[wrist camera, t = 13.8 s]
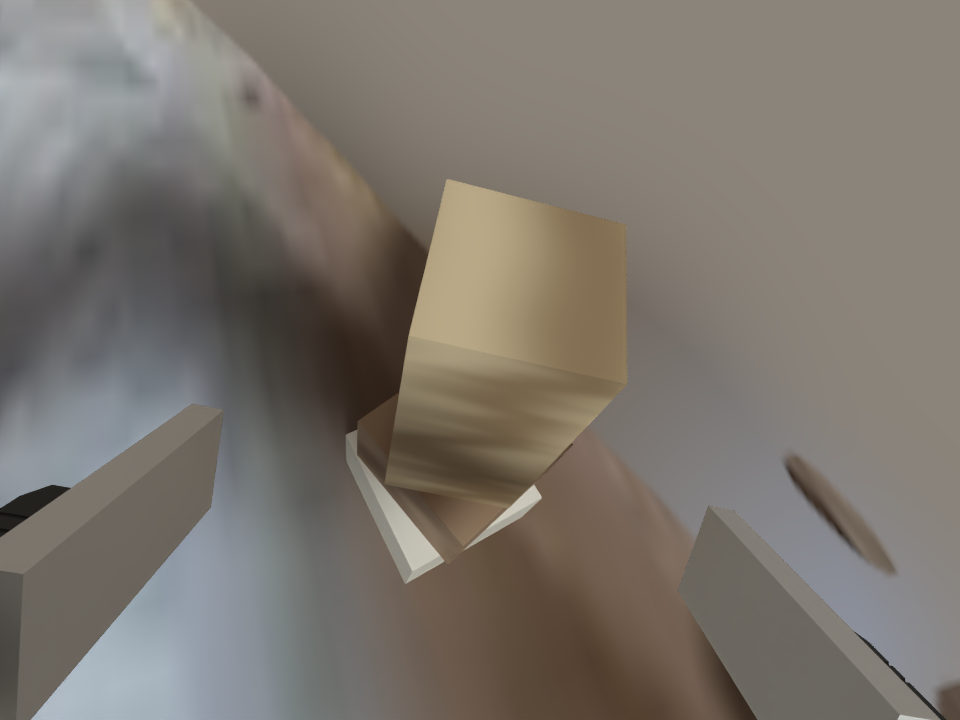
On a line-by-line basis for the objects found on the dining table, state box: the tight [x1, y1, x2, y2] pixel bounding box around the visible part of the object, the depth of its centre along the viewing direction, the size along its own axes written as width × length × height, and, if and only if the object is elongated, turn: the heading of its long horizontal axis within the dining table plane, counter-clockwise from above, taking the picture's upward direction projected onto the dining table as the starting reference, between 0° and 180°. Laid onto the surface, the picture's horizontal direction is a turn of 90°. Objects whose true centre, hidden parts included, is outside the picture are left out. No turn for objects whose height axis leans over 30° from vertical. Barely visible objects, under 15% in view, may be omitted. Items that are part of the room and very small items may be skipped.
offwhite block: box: [346, 430, 542, 584], centre depth 28 cm, size 7×7×4 cm
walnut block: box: [357, 393, 573, 565], centre depth 25 cm, size 6×6×4 cm
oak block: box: [384, 179, 627, 508], centre depth 18 cm, size 5×5×11 cm
